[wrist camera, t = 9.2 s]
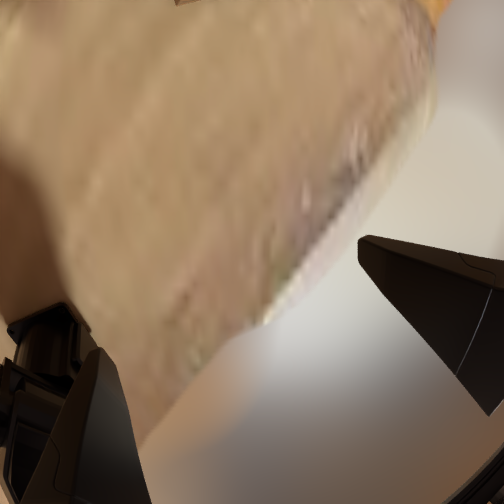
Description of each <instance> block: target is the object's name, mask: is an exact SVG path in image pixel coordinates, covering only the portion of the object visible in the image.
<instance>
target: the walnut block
mask: <svg viewBox="0 0 504 504" xmlns="http://www.w3.org/2000/svg"><path fill="white" fill-rule="evenodd" d="M174 1H175V4H176V6H179V5H183V4H187V3H191V2H195V1H199V0H174Z"/></svg>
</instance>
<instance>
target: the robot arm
mask: <svg viewBox="0 0 504 504" xmlns="http://www.w3.org/2000/svg"><path fill="white" fill-rule="evenodd" d="M358 261H359V264H360V265H361V267H362V268H363V269H364V270H365V272H366V273H367V274H368V276H369V277H370V278H371V280H372V281H373V282H374V283H375V285H376V286H377V287H378V289H379V290H380V291H381V292H382V294H383V295H384V296H385V297H386V298H387V299H388V300H389V302H391V304H392V305H393V306H394V307H395V308H396V309H397V310H398V311H399V312H400V313H401V314H402V316H403V317H404V318H405V319H406V320H407V321H408V322H409V323H410V324H411V325H412V326H413V328H414V329H415V330H416V331H417V332H418V333H419V334H420V336H421V337H422V338H423V339H424V340H425V341H426V342H427V343H428V345H429V346H430V347H431V348H432V349H433V350H434V351H435V353H436V354H437V355H438V356H439V357H440V358H441V359H442V361H443V362H444V363H445V364H446V365H447V367H448V368H449V369H450V370H451V371H452V372H453V374H454V375H456V377H457V379H458V380H459V381H460V382H461V384H462V385H463V386H464V387H465V388H466V390H467V391H468V392H469V393H470V395H471V396H472V397H473V398H474V399H475V401H476V402H477V403H478V404H479V406H480V407H481V408H482V410H483V411H484V412H485V413H486V415H487V416H490V415H491V414H492V413H493V412H494V411H495V410H496V409H497V408H498V406H499V405H500V404H501V403H502V402H503V400H504V260H497V259H490V258H485V257H478V256H474V255H469V254H464V253H457V252H454V251H449V250H445V249H440V248H435V247H430V246H425V245H420V244H414V243H409V242H404V241H399V240H394V239H389V238H383V237H379V236H373V235H366V236H364V237H362V238H360V239H359V240H358ZM60 308H63V309H64V310H61V309H60ZM12 330H13V331H12ZM7 333H8V334H9V336H10V337H11V338H12V339H13V341H14V342H15V343H16V344H17V347H16V351H15V355H14V359H13V362H12V360H10V359H8V358H7V357H5V358H4V361H3V363H2V364H0V485H1V487H2V489H3V491H4V493H5V496H6V498H7V500H8V502H9V504H152V503H151V499H150V496H149V493H148V490H147V486H146V482H145V479H144V475H143V471H142V468H141V464H140V460H139V456H138V451H137V447H136V443H135V438H134V434H133V429H132V424H131V419H130V415H129V410H128V406H127V403H126V399H125V396H124V393H123V389H122V386H121V382H120V378H119V375H118V371H117V368H116V365H115V364H114V362H113V361H112V359H111V358H110V357H109V356H108V354H107V353H106V352H105V350H104V349H103V348H102V347H98V348H97V344H96V342H95V341H94V340H93V338H92V337H91V335H90V334H89V333H88V331H87V330H86V328H85V327H84V326H83V324H82V323H80V322H78V320H77V319H76V318H75V316H74V315H73V313H72V312H71V310H70V309H69V307H68V306H67V304H65V303H63V302H60V303H57V304H55V305H53V306H50V307H48V308H46V309H43V310H41V311H39V312H37V313H34V314H32V315H30V316H27V317H25V318H23V319H21V320H18V321H16V322H14V323H12V324H10V325H8V328H7ZM489 501H490V502H491V503H492V504H504V442H503V443H502V445H501V446H500V447H499V448H498V449H497V450H496V451H495V452H494V454H493V455H492V456H491V457H490V458H489V459H488V460H487V461H486V462H485V463H484V464H483V465H482V466H481V467H480V468H479V469H478V470H477V471H476V472H475V473H474V474H473V475H472V476H471V477H470V478H469V479H468V480H467V481H466V482H465V483H464V484H463V485H462V486H461V487H460V488H458V489H457V490H456V491H455V492H454V493H453V494H452V495H451V496H449V497H448V498H447V499H446V500H445V501H444V502H442V503H441V504H487V503H488V502H489Z"/></svg>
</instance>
